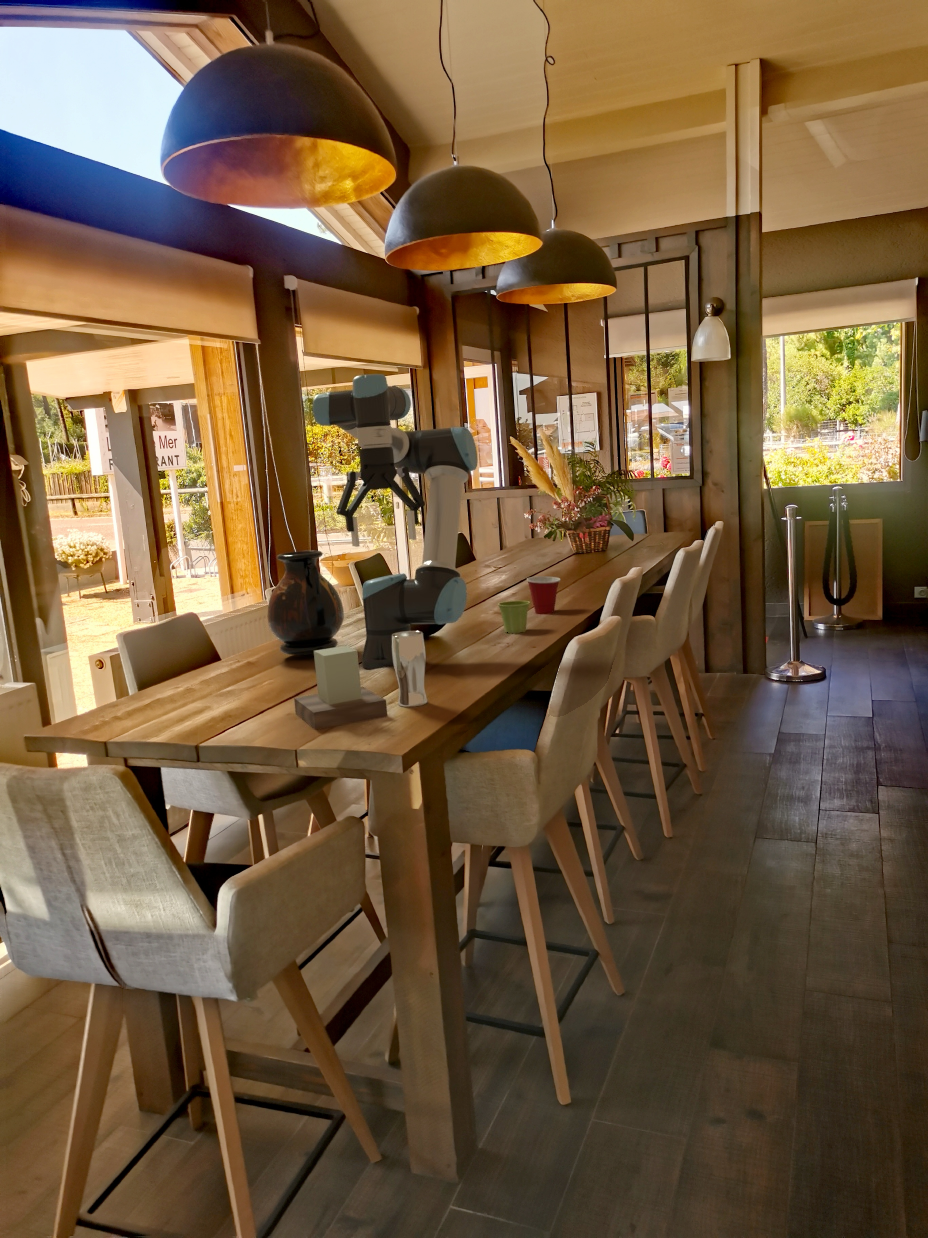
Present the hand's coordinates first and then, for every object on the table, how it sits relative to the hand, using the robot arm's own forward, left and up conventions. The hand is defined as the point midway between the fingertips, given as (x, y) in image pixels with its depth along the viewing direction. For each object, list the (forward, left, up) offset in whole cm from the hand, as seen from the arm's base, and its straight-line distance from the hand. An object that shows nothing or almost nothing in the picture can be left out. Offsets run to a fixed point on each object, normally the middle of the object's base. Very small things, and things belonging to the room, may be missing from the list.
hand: (384, 542), depth 209 cm
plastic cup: (-59, +75, -33) cm, 101 cm away
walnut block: (+17, -19, -34) cm, 42 cm away
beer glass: (+18, -4, -33) cm, 38 cm away
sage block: (+17, -19, -29) cm, 39 cm away
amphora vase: (-60, -3, -33) cm, 69 cm away
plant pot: (-39, +53, -33) cm, 74 cm away
